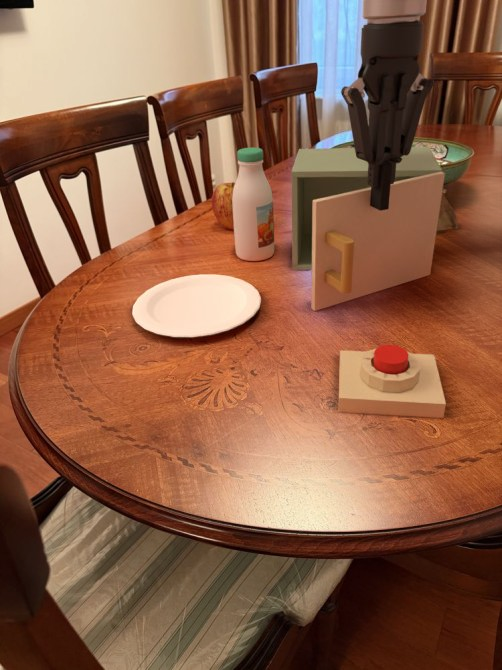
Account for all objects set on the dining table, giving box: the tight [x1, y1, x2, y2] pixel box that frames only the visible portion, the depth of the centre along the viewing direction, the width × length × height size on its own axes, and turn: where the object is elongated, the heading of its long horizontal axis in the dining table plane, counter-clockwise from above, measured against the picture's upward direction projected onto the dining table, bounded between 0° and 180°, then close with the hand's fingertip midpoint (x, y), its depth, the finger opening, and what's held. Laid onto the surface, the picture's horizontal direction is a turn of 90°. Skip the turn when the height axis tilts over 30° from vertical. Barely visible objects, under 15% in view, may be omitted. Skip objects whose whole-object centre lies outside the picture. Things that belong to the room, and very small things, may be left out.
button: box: [373, 344, 409, 375], centre depth 63 cm, size 4×4×2 cm
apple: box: [211, 181, 236, 231], centre depth 114 cm, size 9×9×10 cm
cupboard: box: [291, 146, 443, 271], centre depth 96 cm, size 16×24×18 cm, turn 81°
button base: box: [337, 347, 447, 419], centre depth 64 cm, size 12×10×4 cm
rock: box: [436, 191, 459, 235], centre depth 105 cm, size 11×9×10 cm
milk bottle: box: [232, 147, 275, 262], centre depth 97 cm, size 8×8×20 cm
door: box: [310, 171, 446, 312], centre depth 80 cm, size 6×24×18 cm, turn 117°
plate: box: [131, 273, 262, 339], centre depth 84 cm, size 21×21×2 cm
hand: (379, 207), depth 76 cm, fingers closed
